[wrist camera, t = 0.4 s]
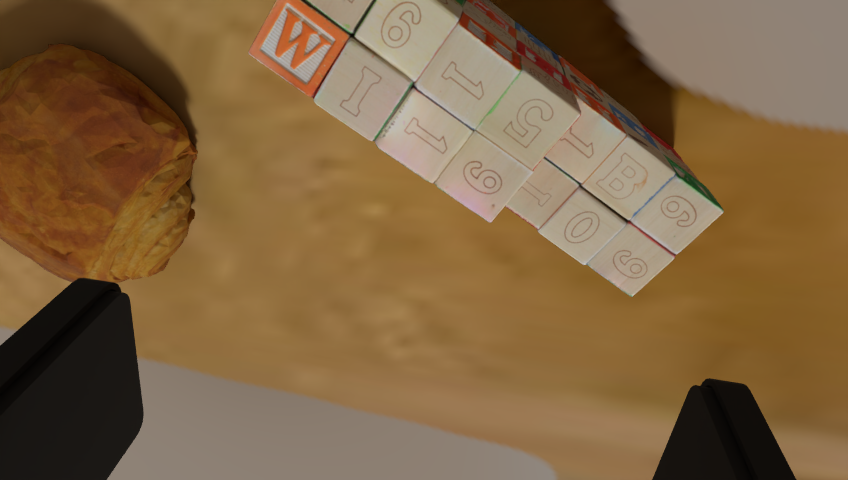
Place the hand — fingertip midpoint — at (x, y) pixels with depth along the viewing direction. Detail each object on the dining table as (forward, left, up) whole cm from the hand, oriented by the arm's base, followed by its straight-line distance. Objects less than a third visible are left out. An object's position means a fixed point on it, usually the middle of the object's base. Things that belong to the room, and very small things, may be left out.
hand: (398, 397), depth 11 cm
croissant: (+17, -18, -29) cm, 38 cm away
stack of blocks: (0, +2, -29) cm, 29 cm away
